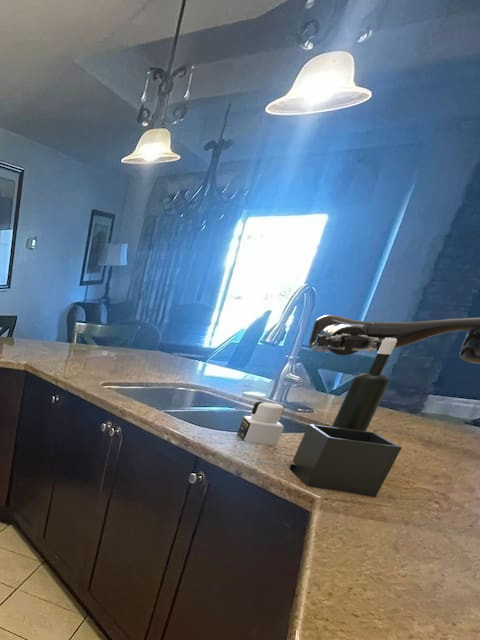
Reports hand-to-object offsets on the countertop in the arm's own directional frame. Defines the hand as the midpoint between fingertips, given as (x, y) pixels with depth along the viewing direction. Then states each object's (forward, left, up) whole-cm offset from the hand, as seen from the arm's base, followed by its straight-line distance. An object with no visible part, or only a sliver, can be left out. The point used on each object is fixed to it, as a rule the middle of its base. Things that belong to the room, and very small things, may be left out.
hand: (361, 345), depth 120 cm
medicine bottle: (+15, +8, -27) cm, 32 cm away
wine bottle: (+1, +15, -27) cm, 31 cm away
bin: (+6, +30, -27) cm, 41 cm away
